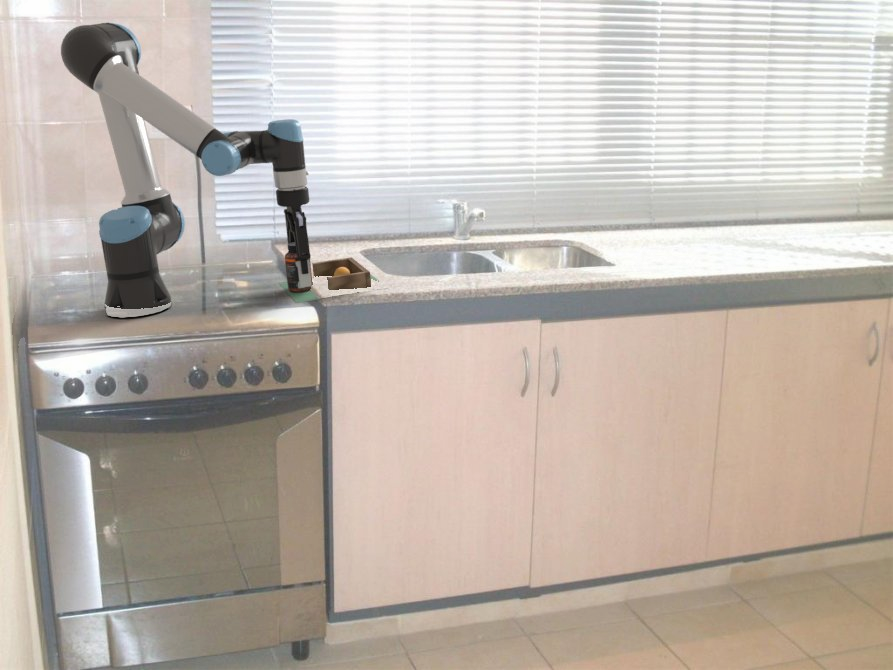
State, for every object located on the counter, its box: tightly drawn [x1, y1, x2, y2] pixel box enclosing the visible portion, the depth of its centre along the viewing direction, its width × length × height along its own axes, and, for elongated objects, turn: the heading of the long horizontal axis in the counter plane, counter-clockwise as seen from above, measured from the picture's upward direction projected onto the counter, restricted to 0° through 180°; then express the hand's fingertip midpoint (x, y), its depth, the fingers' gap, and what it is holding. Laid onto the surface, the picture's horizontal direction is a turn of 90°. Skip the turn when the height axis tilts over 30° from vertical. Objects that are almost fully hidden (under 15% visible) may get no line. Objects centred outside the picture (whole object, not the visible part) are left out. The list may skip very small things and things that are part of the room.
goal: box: [311, 256, 371, 290], centre depth 269 cm, size 10×18×4 cm, turn 19°
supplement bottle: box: [284, 242, 313, 292], centre depth 265 cm, size 6×6×11 cm
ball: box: [334, 267, 351, 276], centre depth 269 cm, size 4×4×4 cm
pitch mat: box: [279, 273, 380, 304], centre depth 268 cm, size 22×21×1 cm
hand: (302, 283), depth 266 cm, fingers open, 7 cm apart
